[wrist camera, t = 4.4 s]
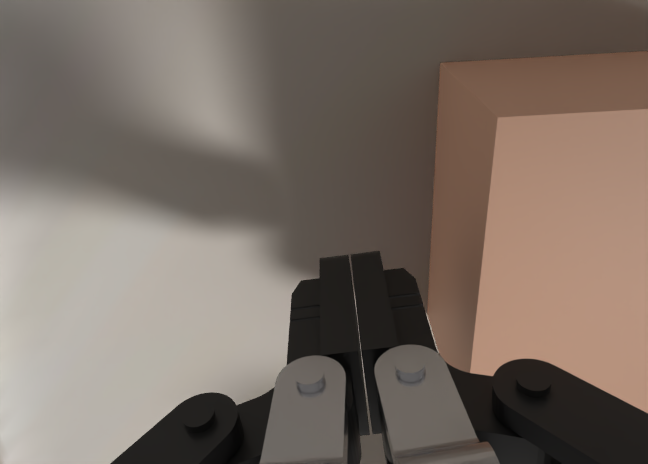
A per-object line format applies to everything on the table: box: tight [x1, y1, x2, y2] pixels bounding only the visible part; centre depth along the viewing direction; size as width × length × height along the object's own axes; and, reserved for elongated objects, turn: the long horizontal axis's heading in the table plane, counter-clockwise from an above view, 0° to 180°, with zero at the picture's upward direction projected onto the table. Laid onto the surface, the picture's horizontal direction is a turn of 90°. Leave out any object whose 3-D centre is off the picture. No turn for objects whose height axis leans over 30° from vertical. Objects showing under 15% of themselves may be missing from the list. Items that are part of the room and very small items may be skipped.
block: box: [427, 51, 648, 413], centre depth 13 cm, size 8×8×5 cm
